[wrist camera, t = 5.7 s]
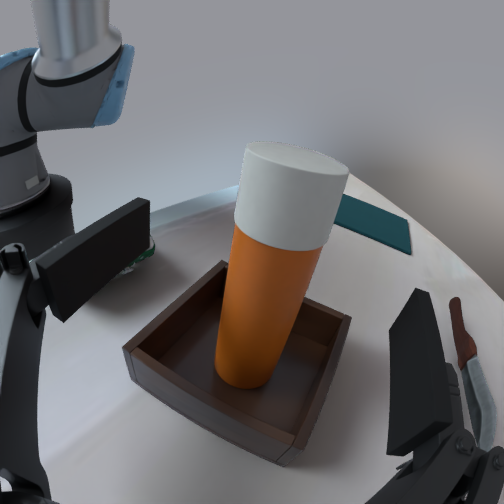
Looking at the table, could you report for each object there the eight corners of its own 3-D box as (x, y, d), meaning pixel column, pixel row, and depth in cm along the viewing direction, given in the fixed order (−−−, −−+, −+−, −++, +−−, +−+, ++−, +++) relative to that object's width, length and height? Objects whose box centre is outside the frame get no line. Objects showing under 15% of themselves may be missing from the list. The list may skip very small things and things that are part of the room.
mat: (294, 208, 41) (294, 205, 40) (317, 186, 52) (318, 184, 51) (410, 255, 35) (411, 253, 35) (406, 221, 46) (407, 219, 46)
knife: (481, 470, 10) (509, 453, 8) (469, 472, 10) (498, 455, 9) (448, 314, 25) (461, 294, 24) (438, 312, 26) (451, 290, 24)
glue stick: (200, 370, 16) (225, 147, 9) (232, 331, 19) (271, 137, 12) (258, 401, 15) (340, 183, 8) (284, 356, 18) (355, 164, 11)
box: (130, 379, 15) (121, 347, 13) (217, 293, 23) (221, 259, 21) (283, 467, 12) (303, 450, 10) (334, 348, 20) (352, 316, 18)
